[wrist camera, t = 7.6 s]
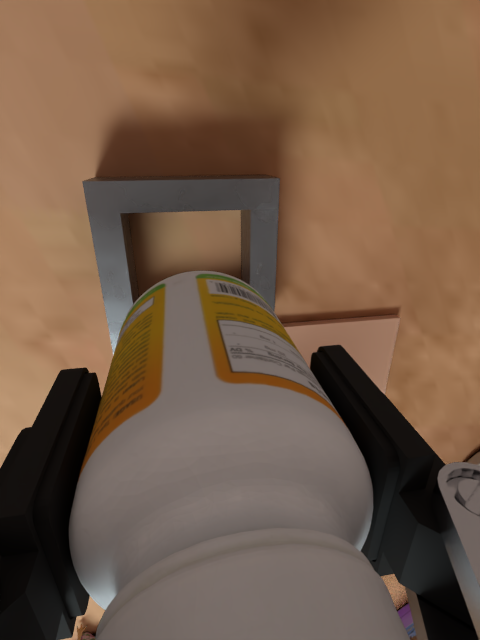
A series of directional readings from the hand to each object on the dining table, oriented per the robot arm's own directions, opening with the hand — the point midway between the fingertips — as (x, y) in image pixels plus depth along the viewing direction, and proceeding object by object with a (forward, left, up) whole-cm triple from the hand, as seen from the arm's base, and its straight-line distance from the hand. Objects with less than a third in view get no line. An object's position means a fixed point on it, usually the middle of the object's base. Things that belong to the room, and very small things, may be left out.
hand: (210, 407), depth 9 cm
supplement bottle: (0, 0, -4) cm, 4 cm away
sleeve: (0, 0, -14) cm, 14 cm away
